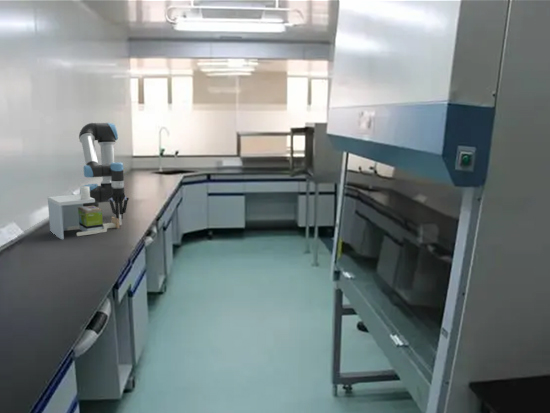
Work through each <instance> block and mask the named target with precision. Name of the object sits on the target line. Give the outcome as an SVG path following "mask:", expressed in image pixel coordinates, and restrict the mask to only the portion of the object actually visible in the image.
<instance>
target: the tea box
mask: <svg viewBox="0 0 550 413" xmlns="http://www.w3.org/2000/svg"><path fill="white" fill-rule="evenodd" d="M78 214H79V228H80V229H79V230H80V232H84V231H91V230H99V229H103V224H104V222H103V219H104V218H103V209H102V208H100V207H99V208H98V207H96V206H94V205H93V206H85V207H78Z"/></svg>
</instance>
